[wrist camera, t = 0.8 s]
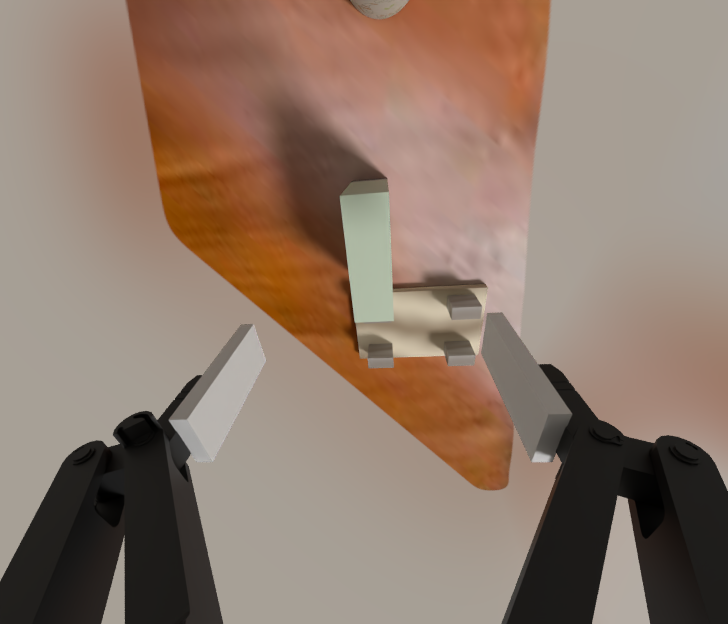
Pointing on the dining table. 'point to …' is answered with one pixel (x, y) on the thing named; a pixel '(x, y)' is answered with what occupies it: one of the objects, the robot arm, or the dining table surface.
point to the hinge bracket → (427, 326)
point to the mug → (379, 7)
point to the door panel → (368, 249)
